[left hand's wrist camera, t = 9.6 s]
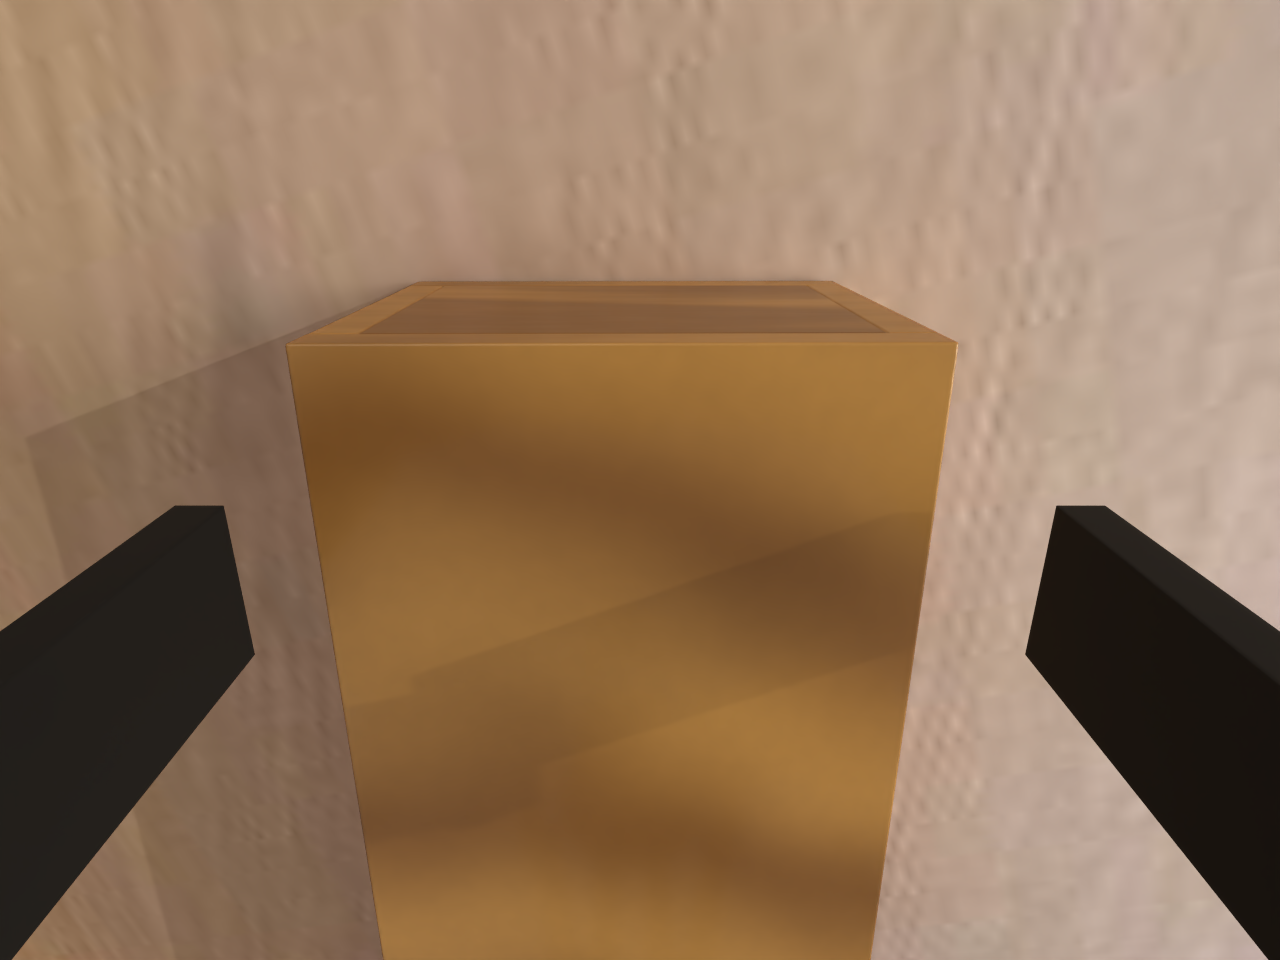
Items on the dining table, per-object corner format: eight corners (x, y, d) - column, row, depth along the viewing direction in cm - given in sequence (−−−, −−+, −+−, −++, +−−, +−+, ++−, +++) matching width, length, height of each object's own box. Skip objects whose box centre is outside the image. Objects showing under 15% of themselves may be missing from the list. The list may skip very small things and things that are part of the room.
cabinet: (781, 901, 28) (839, 1180, 20) (478, 904, 28) (418, 1185, 20) (833, 280, 21) (959, 342, 13) (417, 281, 21) (283, 343, 13)
